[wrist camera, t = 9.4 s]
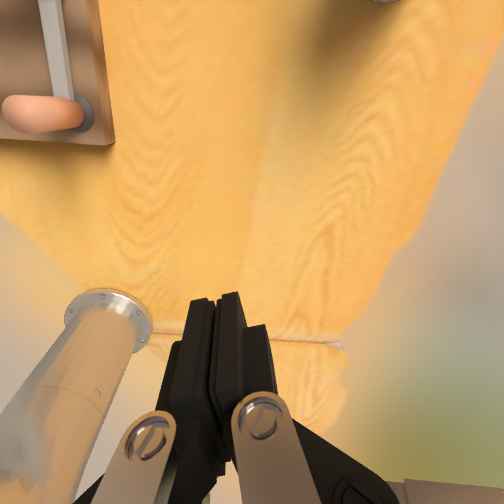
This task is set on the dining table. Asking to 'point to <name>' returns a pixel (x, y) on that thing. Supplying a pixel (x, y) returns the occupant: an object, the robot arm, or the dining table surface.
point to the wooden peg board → (38, 74)
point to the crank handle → (62, 103)
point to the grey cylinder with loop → (384, 1)
